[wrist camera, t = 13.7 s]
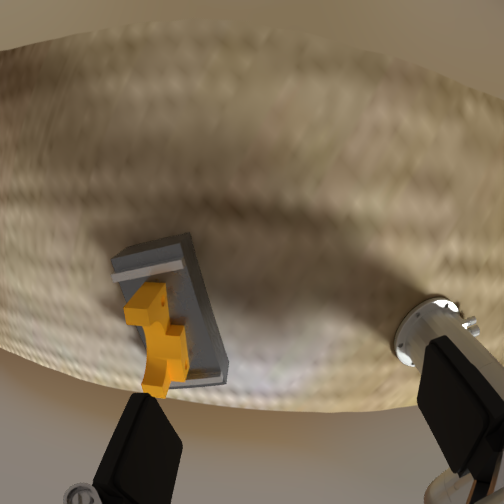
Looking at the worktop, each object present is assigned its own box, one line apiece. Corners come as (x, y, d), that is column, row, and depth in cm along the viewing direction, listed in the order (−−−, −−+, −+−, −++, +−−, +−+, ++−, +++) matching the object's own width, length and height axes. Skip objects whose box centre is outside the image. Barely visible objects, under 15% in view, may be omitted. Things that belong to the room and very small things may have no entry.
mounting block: (189, 232, 36) (177, 246, 30) (229, 362, 42) (225, 390, 36) (127, 247, 37) (106, 262, 31) (173, 368, 43) (163, 394, 37)
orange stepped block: (189, 366, 36) (179, 400, 30) (158, 363, 36) (144, 395, 30) (180, 283, 33) (164, 310, 27) (144, 281, 33) (123, 307, 27)
